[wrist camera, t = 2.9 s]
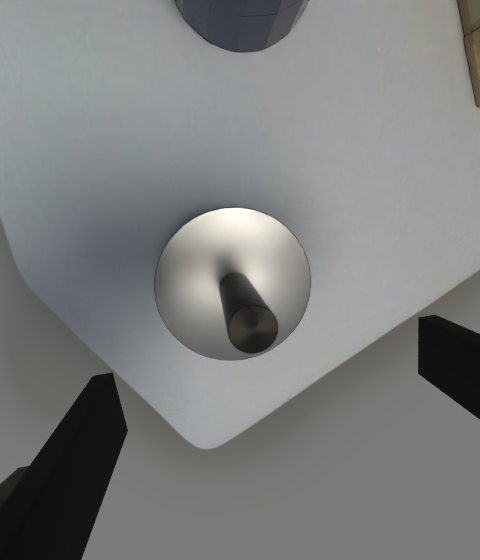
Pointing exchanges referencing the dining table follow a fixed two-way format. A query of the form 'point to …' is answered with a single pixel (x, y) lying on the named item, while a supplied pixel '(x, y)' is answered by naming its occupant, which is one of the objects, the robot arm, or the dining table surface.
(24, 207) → the dining table surface
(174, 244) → the lid
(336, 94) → the dining table surface
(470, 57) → the toy kitchen set
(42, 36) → the dining table surface
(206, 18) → the pot
